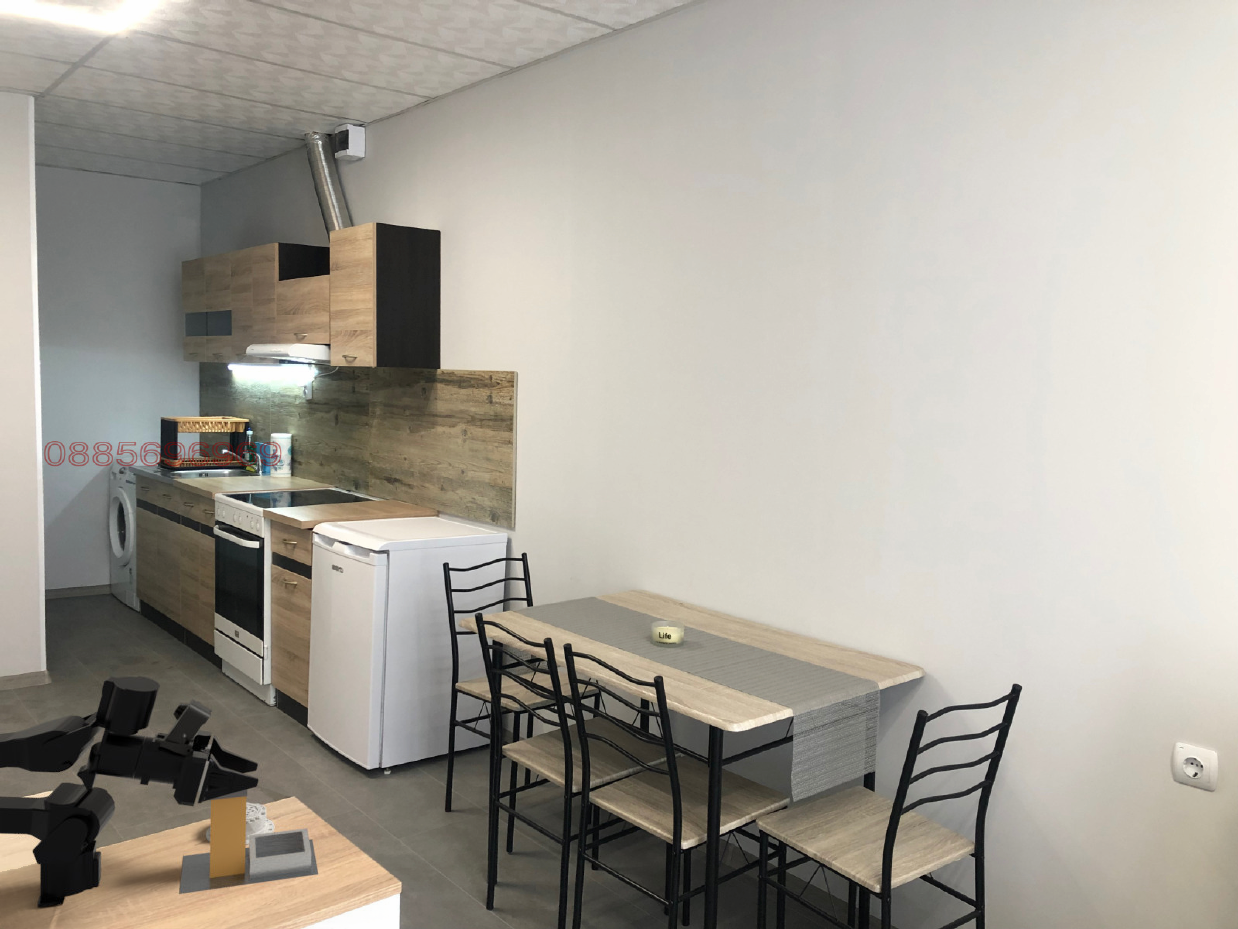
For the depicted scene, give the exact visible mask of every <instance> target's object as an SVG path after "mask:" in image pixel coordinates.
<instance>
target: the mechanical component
mask: <svg viewBox="0 0 1238 929" xmlns="http://www.w3.org/2000/svg"><path fill="white" fill-rule="evenodd" d="M267 812H268V811H267V807H266V806H265V805H263V804H260V803H259V802H257V803H251V802H248V801H246V846H247V845H248V846H249V835H257V834H265V833H273V832H274V831H275V828H276V826H275V823H274V822H273V821H272V820H270V819H269V818H267V815H268V814H267ZM210 829H211V826H210V827H208V829H207V830H206V831H205V839H206V840H207V841H208V842H209V843H210Z"/></svg>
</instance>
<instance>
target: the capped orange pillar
mask: <svg viewBox="0 0 1238 929" xmlns="http://www.w3.org/2000/svg"><path fill="white" fill-rule="evenodd" d="M247 797H248V789H247V790H243V791H239V792H235V793H231V794H228V795H224V796H221V797H217V798H214V799H211V800H210V827H211V829H210V842H209V844H210V845H209V846H210V849H209V852H210V878H214V877H221V876H228V875H236V874H243V873H245V848H247V847H246V846H247V845H246V802H247Z"/></svg>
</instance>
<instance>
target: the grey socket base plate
mask: <svg viewBox="0 0 1238 929" xmlns="http://www.w3.org/2000/svg"><path fill="white" fill-rule="evenodd" d="M316 875H319V871H318V865H317V859H316V853H315V846H314V842H313V839H310V836H309V831H308V827H307V828H300V829H299V828H298V829H290V830H282V831H275V832H274V831H273V833H265V834H257V835H249V844H248V847H245V873H243V874H236V875H228V876H221V877H214V878H210V851H209V852H204V853H203V852H202V853H196V854H188V855H183V857H182V867H181V875H180V884H179V895H181V894H188V893H196V892H197V893H198V892H204V891H211V890H217V889H224V888H230V887H231V888H232V887H238V886H246V885H252V884H260V883H266V882H267V883H268V882H274V881H280V880H288V879H296V878H302V877H308V876H309V877H310V876H316Z"/></svg>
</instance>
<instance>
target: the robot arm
mask: <svg viewBox="0 0 1238 929" xmlns="http://www.w3.org/2000/svg"><path fill="white" fill-rule="evenodd" d="M160 688H161V685H160V683H159V682H158V681H156V680H154V679H151V678H149V677H146V676H141V675H138V676H122V677H115V676H109V677H108V678H107V679H105V680H104V682H103V684H102V688H101V697H100V700H99V704H98V707H97V711H95V712H92V713H90V714H87V715H85V716H79V715H67V716H62V717H58V718H56V719H52V720H49V721H45V722H42V723H39V724H37V725H34V726H31V727H29V728H27V729H22V730H19V731H14V732H5V733H0V769H3V768H18V769H21V770H24V771H27V772H32V773H33V772H34V773H62V772H65V771H67V770H68V769H71V767H73V766H74V765H75V764H76V763H77V762H78V761H79V760H80V759H81V757H83V756H84V755H85V754H86V753H87V752H88V751H89V749H90V751H89V754H88V758H87V761H86V764H84V765H82V766H81V767H79V770H78V771H77V773H76V776H77V777H78V778H79V779H80V780H81V781H82V783H83V784H78V783H73V782H61V783H59V785H58V786H56V788H55V789H54V790H52V792H51V793H50V794H49V795H47V796H43V797H42V796H41V797H27V796H0V834H2V835H29V836H31V837H34V838H36V839H37V840H39V842H38V844H36V846H35V847H34V848H33V849H32V854H33V857H34V859H35V861H36V863H37V865H39V866H40V868H39V869H40V872H39V873H40V875H39V878H40V880H39V882H40V883H39V884H40V885H39V890H40V891H39V893H40V894H39V897H38V900H37V903H36V906H37V907H38V908H43V907H50V906H56V905H57V906H58V905H63V904H64V903H65V902H64V901H65V900H66V897H71V896H75V895H78V894H80V893H82V892H85V891H87V890H92V889H94V888H99V886H100V882H101V878H102V877H101V876H102V852H101V851H100V850H99V851H97V840H96V839H97V837H98V836H99V835H100V834H101V832H102V831H103V829H104V828H105V827H106V826H107V825H108V823H109V822H110V820H111V819H112V818H113V816H114V814H115V810H116V804H115V800H114V798H113V796H112V795H111V793H108V792H109V791H108V790H107V789H105V788H102V787H100V786H99V787H98V786H94V785H95V782H96V780H97V778H98V776H99V775H100V776H105V777H106V776H107V777H114V778H121V779H130V780H135V781H136V780H137V781H140V782H139V785H143V786H149V783H150V782H151V783H157V784H165V785H172V789H173V790H174V793H173V798H174V800H175V801H176V803H177V804H178V805H180V806H181V805H182V806H189V807H194V806H195V803H196V799H197V795H198V793H199V795H198V799H197V805H198V804H202V803H203V802H207V801H211V799H214V798H217V797H221V796H224V795H228V794H231V793H235V792H239V791H243V790H247V791H248V790H249V789H254V788H257V786H258V784H259V777H256V776H252V775H249V774H248V773H252V772H256V771H257V770H258V768H259V767H258V766H259V764H258V762H256V761H254V760H252V759H249V758H247V757H245V756H242V755H240V754H238V753H235V752H232V751H230V750H228V749H225V748H224V747H223V746H222V745H221V742H220V741H219V740H218V737H217V736H216V735H215V734H214V735H213V738H212V733H213V731H208V730H200V729H201V727H203V726H204V725H205V724H206V723H207V721H208V720H209V718H210V717H211V715H212V709H211V708H209V707H207V706H205V705H203V703H202V702H201V701H196V700H195V699H191V700H190V702H189V703H187V702H186V703H183V702H180V703H179V704H178V705H177V707H176V708H175V710H174V712H173V713H172V714H173V716H174V718H175V719H176V721H175V722H174V723H173V725H172V727H171V728H170V729H169V731H168V733H165V732H164V733H163V732H158V733H157V734H155V735H154V737H152V736H148V735H147V736H146V735H141V734H139V732H140V731H141V730H145V729H147V728H148V727H149V726H150V722H151V719H152V715H153V712H154V708H155V704H156V701H157V697H158V693H159V691H160ZM103 729H104V731H103V734H102V738H101V741H98V742H95V743H94V741H95V736H97V735H98V733H99V732H100V731H102V730H103ZM211 738H212V741H211ZM210 741H211V744H210ZM246 773H247V774H246Z"/></svg>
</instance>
